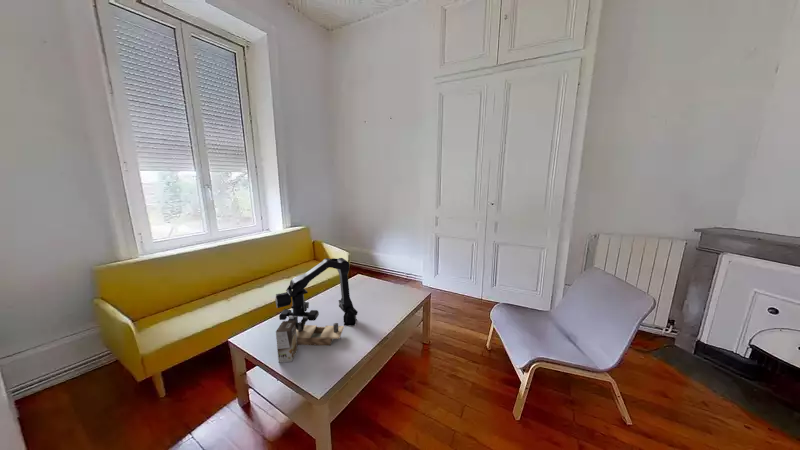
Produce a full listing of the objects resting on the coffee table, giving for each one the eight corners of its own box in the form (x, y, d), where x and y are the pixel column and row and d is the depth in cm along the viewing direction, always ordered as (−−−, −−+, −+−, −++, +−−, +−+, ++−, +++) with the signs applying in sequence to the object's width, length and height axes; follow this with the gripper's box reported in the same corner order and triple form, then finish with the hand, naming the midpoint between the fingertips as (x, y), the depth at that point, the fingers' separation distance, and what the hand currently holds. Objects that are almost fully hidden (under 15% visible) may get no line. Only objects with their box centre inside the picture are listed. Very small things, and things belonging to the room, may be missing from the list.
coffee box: (292, 362, 124) (289, 331, 120) (278, 362, 123) (275, 332, 120) (298, 349, 133) (295, 320, 129) (284, 349, 132) (282, 320, 129)
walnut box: (335, 333, 145) (335, 327, 144) (330, 345, 135) (329, 338, 134) (299, 332, 145) (298, 326, 145) (291, 344, 136) (290, 337, 135)
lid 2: (343, 327, 144) (343, 319, 143) (339, 338, 134) (338, 330, 133) (325, 326, 144) (325, 318, 143) (320, 338, 135) (319, 329, 133)
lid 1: (316, 326, 144) (316, 318, 143) (310, 338, 135) (309, 329, 134) (298, 326, 145) (298, 317, 144) (291, 337, 135) (290, 328, 134)
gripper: (321, 295, 144) (322, 321, 147) (287, 294, 144) (289, 320, 147) (314, 305, 133) (316, 333, 136) (277, 304, 133) (280, 332, 137)
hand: (300, 329), depth 139 cm, fingers closed on lid 1, 2 cm apart
